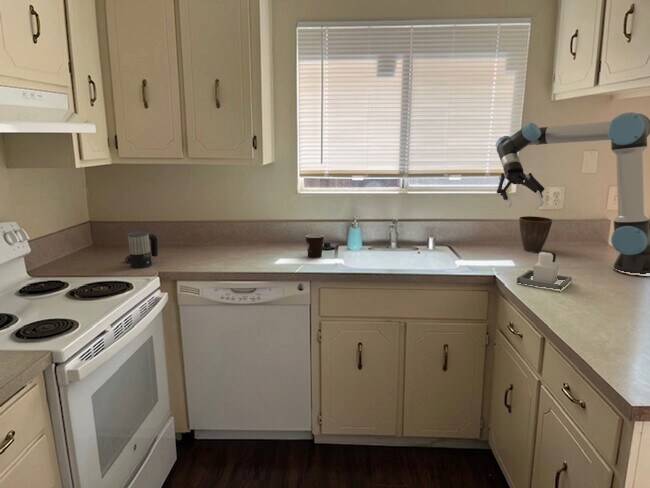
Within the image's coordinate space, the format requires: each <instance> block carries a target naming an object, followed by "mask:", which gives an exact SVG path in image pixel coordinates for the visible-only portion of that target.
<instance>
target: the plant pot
mask: <svg viewBox="0 0 650 488" xmlns="http://www.w3.org/2000/svg"><path fill="white" fill-rule="evenodd" d="M518 219H519V220H518V221H519V233H520V239H521V242H522V246H523V250H524V251H525V250H527V251H526V252H529V251H540V252H542V249H543V247H544V245H545V243H546V241H547V238H548V236H549V234H550V231H551V227H552V223H553V219H552V218H548V217H543V216H532V215H531V216H529V215H528V216H526V215H525V216H519V218H518Z"/></svg>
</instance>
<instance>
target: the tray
mask: <svg viewBox="0 0 650 488" xmlns="http://www.w3.org/2000/svg"><path fill="white" fill-rule="evenodd" d="M531 276H533V269H532V270H530V269H528V270H527V271H525V272H524V273H522V274H520V275H519V276H518V277H517V278H516V284H517V283H521V284H527V285H533V286H538V287H546V288H553V289H560V290H561V289H562V288H563V287H565V286H566V285H567V284H568V283H569V282H570V281H571V282H572V278H573V277H572V276H568V275H567V276H565V275H560V274H557V279H558V280H565V281H563V282H562V283H561V284H560V285H558V284H553V283H547V282H542V281H536V280H531V279H530V278H531Z"/></svg>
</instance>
